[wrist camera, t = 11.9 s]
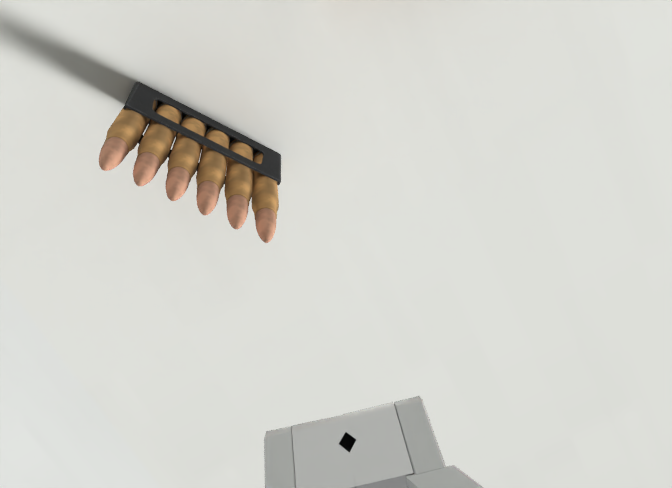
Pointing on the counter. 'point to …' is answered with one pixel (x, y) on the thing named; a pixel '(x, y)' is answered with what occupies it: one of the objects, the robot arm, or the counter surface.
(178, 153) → the ammunition clip
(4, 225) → the counter surface
